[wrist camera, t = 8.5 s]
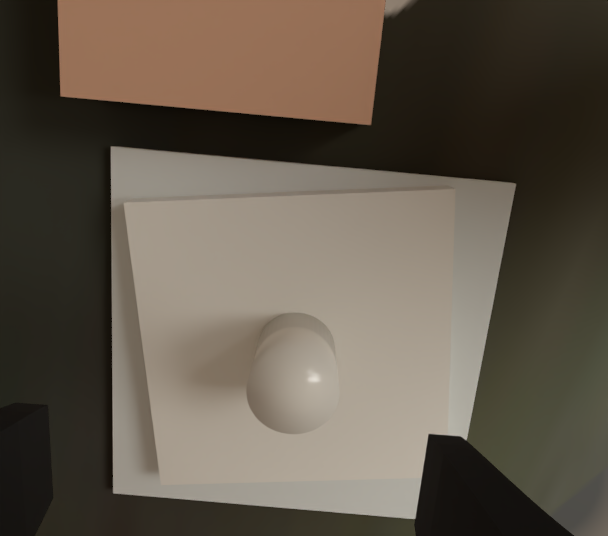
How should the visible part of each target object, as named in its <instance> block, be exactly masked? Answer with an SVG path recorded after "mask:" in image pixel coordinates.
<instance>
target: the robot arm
mask: <svg viewBox="0 0 608 536" xmlns="http://www.w3.org/2000/svg"><path fill="white" fill-rule="evenodd" d="M52 499H53V486H52V469H51V452H50V434H49V417H48V405H39V404H25V403H14V404H11V405H8V406H5V407H3V408H0V536H35V534H36V532H37V530H38V528H39V526H40V524H41V522H42V520H43V518H44V516H45V514H46V512H47V510H48V507H49V505H50V503H51V501H52ZM414 525H415V532H416V536H574V535H572V534H571V533H570V532H569V531H567V530H566V529H565V528H564V527H562V526H561V525H560V524H559V523H558V522H556V521H555V520H554V519H553V518H552V517H550V516H549V515H548V514H547V513H546V512H545V511H543V510H542V509H541V508H540V507H539V506H538V505H537V504H535V503H534V502H533V501H532V500H531V499H530V498H529V497H527V496H526V495H525V494H524V493H523V492H522V491H521V490H520V489H519V488H517V487H516V486H515V485H514V484H513V483H512V482H511V481H510V480H509V479H508V478H506V477H505V476H504V475H503V474H502V473H501V472H500V471H499V470H498V469H497V468H496V467H495V466H493V465H492V464H491V463H490V462H489V461H488V460H487V459H486V458H485V457H484V456H483V455H482V454H481V453H479V452H478V451H477V450H476V449H475V448H474V447H473V446H472V445H471V444H469V443H468V442H467V441H466V440H465V439H464V438H462V437H461V436H450V435H437V434H428V441H427V447H426V454H425V460H424V466H423V473H422V479H421V486H420V492H419V498H418V505H417V511H416V518H415V524H414Z"/></svg>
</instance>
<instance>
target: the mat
mask: <svg viewBox="0 0 608 536" xmlns="http://www.w3.org/2000/svg"><path fill="white" fill-rule="evenodd" d="M445 185H448V186H450V187H453V188H455V189H456V190H455V221H454V253H453V285H452V316H451V348H450V380H449V411H448V435H450V436H461V437H462V438H464V439H465V440H467V435H468V430H469V425H470V420H471V414H472V409H473V404H474V399H475V394H476V389H477V384H478V378H479V373H480V368H481V363H482V358H483V353H484V347H485V342H486V337H487V332H488V327H489V322H490V316H491V311H492V306H493V301H494V296H495V291H496V286H497V280H498V275H499V270H500V265H501V260H502V255H503V249H504V244H505V239H506V234H507V229H508V224H509V218H510V213H511V208H512V203H513V198H514V193H515V188H516V184H515V183H511V182H500V181H489V180H479V179H468V178H457V177H446V176H435V175H424V174H413V173H402V172H392V171H381V170H370V169H359V168H348V167H337V166H326V165H315V164H305V163H294V162H283V161H272V160H261V159H250V158H239V157H228V156H217V155H207V154H196V153H185V152H174V151H163V150H152V149H141V148H130V147H120V146H112V147H111V251H112V401H113V493H117V494H129V495H140V496H152V497H164V498H175V499H187V500H199V501H210V502H222V503H234V504H245V505H257V506H268V507H280V508H292V509H303V510H315V511H327V512H338V513H350V514H362V515H373V516H385V517H397V518H408V519H415V518H416V511H417V505H418V498H419V492H420V486H421V479H422V478H402V479H366V480H329V481H293V482H256V483H220V484H183V485H161V481H160V474H159V466H158V459H157V451H156V444H155V436H154V429H153V421H152V414H151V406H150V399H149V391H148V383H147V376H146V368H145V361H144V353H143V346H142V338H141V331H140V323H139V316H138V308H137V301H136V293H135V286H134V278H133V271H132V263H131V255H130V248H129V240H128V233H127V225H126V218H125V210H124V202H126V201H128V200H131V199H133V198H155V197H179V196H203V195H227V194H251V193H276V192H300V191H324V190H348V189H372V188H396V187H421V186H445Z"/></svg>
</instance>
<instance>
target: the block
mask: <svg viewBox="0 0 608 536" xmlns="http://www.w3.org/2000/svg"><path fill="white" fill-rule="evenodd" d="M385 2H386V0H58V29H59V62H60V94H61V96H62V97H73V98H84V99H94V100H105V101H116V102H127V103H138V104H148V105H159V106H170V107H181V108H191V109H202V110H213V111H224V112H235V113H245V114H256V115H267V116H278V117H289V118H299V119H310V120H321V121H332V122H342V123H353V124H364V125H371V120H372V112H373V103H374V95H375V86H376V78H377V69H378V61H379V53H380V44H381V36H382V27H383V19H384V10H385Z"/></svg>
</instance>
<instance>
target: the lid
mask: <svg viewBox="0 0 608 536" xmlns="http://www.w3.org/2000/svg"><path fill="white" fill-rule="evenodd" d="M455 190H456V189H455V188H453V187H450V186H448V185H445V186H421V187H396V188H372V189H348V190H324V191H300V192H276V193H251V194H227V195H203V196H179V197H155V198H133V199H131V200H128V201H126V202H124V210H125V218H126V225H127V233H128V240H129V248H130V255H131V263H132V271H133V278H134V286H135V293H136V301H137V308H138V316H139V323H140V331H141V338H142V346H143V353H144V361H145V368H146V376H147V383H148V391H149V399H150V406H151V414H152V421H153V429H154V436H155V444H156V451H157V459H158V466H159V474H160V481H161V485H183V484H220V483H256V482H293V481H329V480H366V479H402V478H422V473H423V466H424V460H425V454H426V447H427V441H428V434H437V435H448V411H449V380H450V348H451V316H452V285H453V253H454V221H455Z"/></svg>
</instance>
